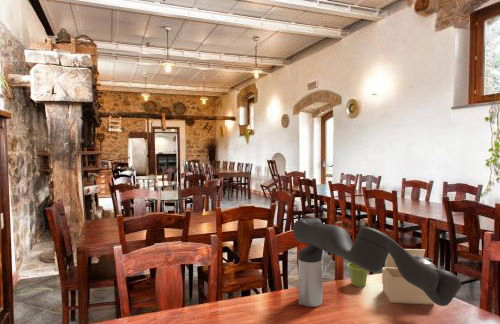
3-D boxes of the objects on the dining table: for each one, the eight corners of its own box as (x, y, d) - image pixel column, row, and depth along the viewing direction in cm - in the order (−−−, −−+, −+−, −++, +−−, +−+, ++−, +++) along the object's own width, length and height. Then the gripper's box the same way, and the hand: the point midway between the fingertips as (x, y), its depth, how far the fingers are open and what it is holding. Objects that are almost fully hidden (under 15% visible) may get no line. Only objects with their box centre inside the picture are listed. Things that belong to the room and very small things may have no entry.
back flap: (385, 266, 146) (388, 249, 140) (385, 265, 146) (388, 248, 141) (420, 267, 144) (425, 250, 139) (420, 266, 144) (424, 249, 139)
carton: (389, 303, 135) (389, 278, 134) (381, 290, 147) (381, 267, 147) (435, 305, 133) (435, 279, 132) (423, 292, 145) (423, 268, 144)
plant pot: (371, 289, 149) (371, 269, 148) (348, 287, 150) (348, 268, 150) (368, 281, 158) (368, 262, 157) (346, 280, 160) (346, 261, 159)
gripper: (403, 279, 123) (390, 263, 140) (443, 280, 121) (424, 264, 138) (403, 258, 123) (390, 245, 140) (443, 259, 121) (424, 246, 138)
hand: (407, 255), depth 139 cm, fingers closed
